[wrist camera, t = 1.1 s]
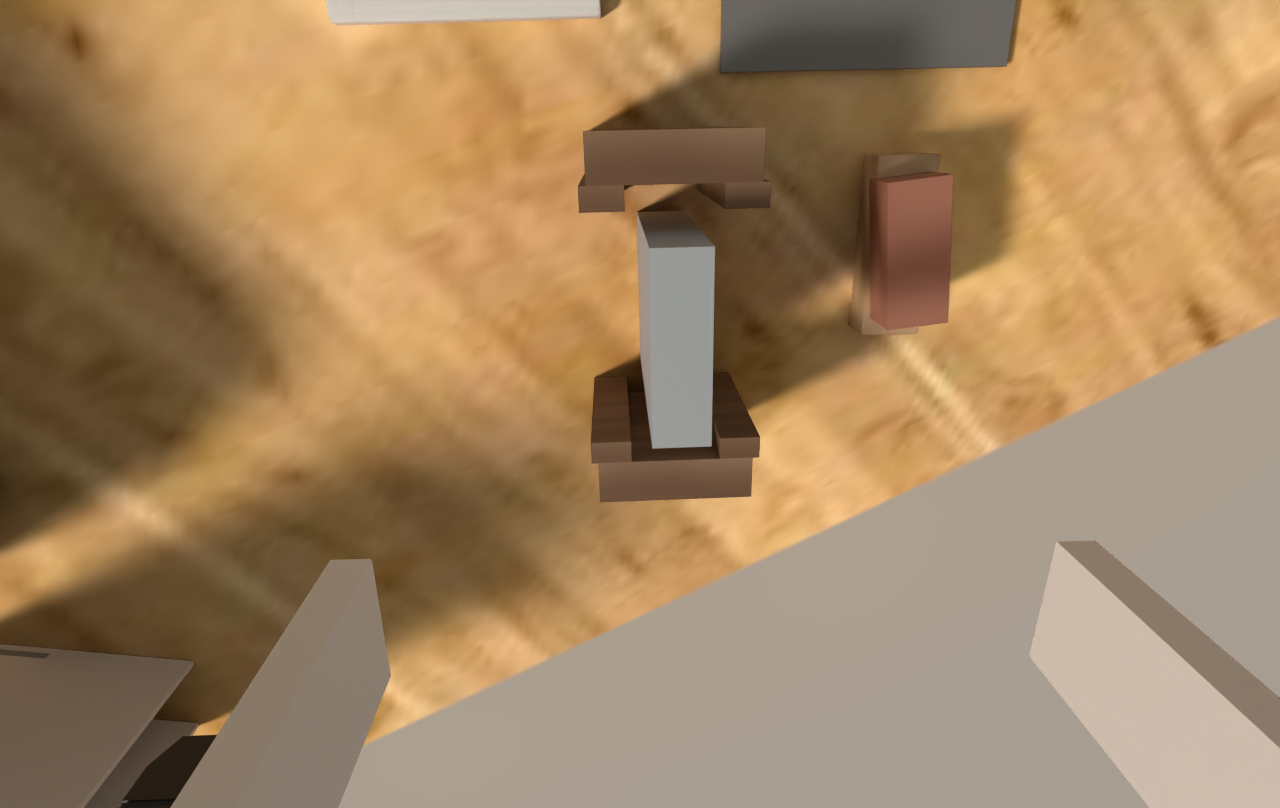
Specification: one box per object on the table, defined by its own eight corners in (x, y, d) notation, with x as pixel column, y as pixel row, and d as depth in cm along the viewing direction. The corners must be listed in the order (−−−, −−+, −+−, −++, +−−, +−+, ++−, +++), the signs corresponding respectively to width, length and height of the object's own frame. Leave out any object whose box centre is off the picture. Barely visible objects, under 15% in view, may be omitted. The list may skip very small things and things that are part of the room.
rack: (583, 130, 36) (575, 131, 27) (734, 127, 36) (773, 127, 27) (597, 426, 41) (593, 502, 33) (727, 421, 42) (757, 496, 33)
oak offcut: (862, 153, 37) (879, 155, 35) (919, 152, 37) (940, 154, 35) (846, 323, 40) (861, 335, 38) (899, 322, 40) (917, 333, 38)
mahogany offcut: (869, 179, 35) (887, 183, 33) (930, 171, 35) (953, 174, 33) (870, 317, 37) (887, 330, 35) (926, 310, 37) (947, 322, 35)
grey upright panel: (637, 211, 37) (649, 248, 26) (683, 210, 37) (714, 246, 26) (640, 358, 40) (652, 448, 29) (683, 357, 40) (711, 446, 29)
